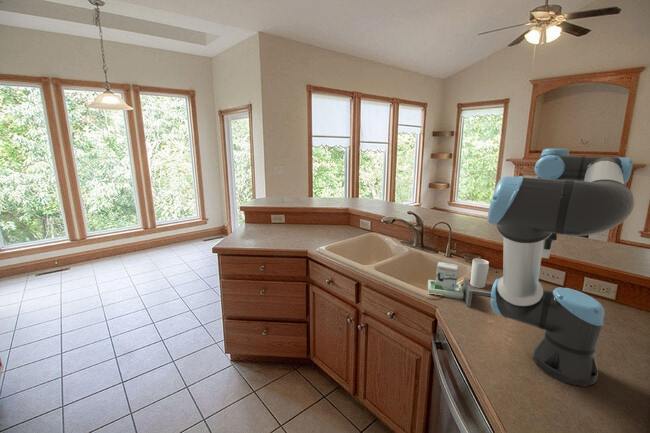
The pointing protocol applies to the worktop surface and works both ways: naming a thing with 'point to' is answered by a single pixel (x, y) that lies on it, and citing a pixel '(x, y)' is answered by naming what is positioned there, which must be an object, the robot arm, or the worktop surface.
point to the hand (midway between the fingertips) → (536, 251)
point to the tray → (451, 294)
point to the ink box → (446, 276)
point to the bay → (471, 292)
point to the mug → (479, 272)
